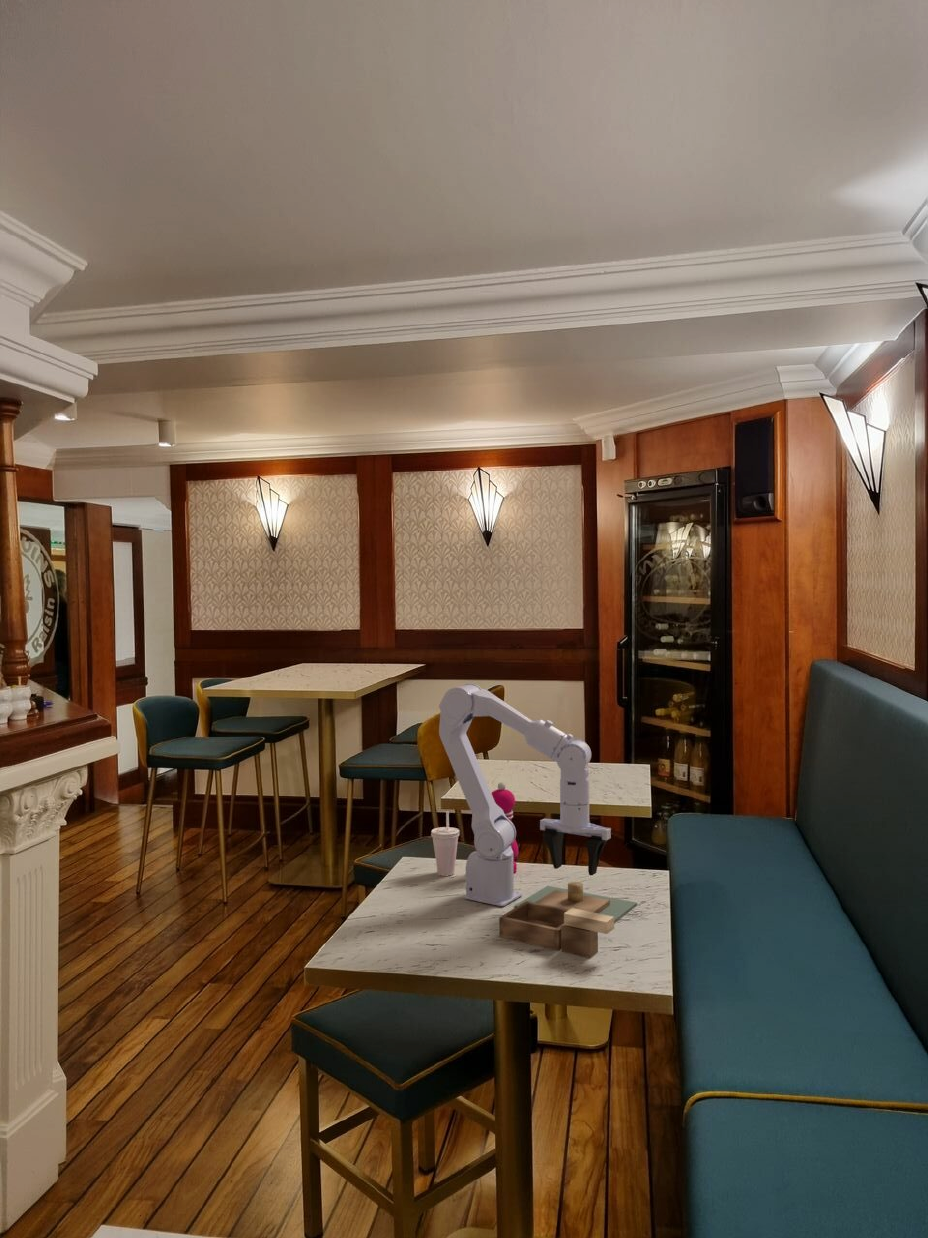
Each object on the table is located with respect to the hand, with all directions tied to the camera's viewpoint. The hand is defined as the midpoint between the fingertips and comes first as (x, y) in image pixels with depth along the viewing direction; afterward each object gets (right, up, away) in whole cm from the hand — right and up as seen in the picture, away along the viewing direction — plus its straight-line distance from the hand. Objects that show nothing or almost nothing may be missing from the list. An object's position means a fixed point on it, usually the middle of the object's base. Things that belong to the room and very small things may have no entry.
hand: (574, 870), depth 172 cm
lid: (-1, -7, -2) cm, 7 cm away
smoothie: (-26, -7, +22) cm, 35 cm away
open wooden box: (-5, -8, -15) cm, 18 cm away
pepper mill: (-13, -7, +23) cm, 28 cm away
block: (0, -3, -23) cm, 23 cm away
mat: (0, -7, 0) cm, 7 cm away
